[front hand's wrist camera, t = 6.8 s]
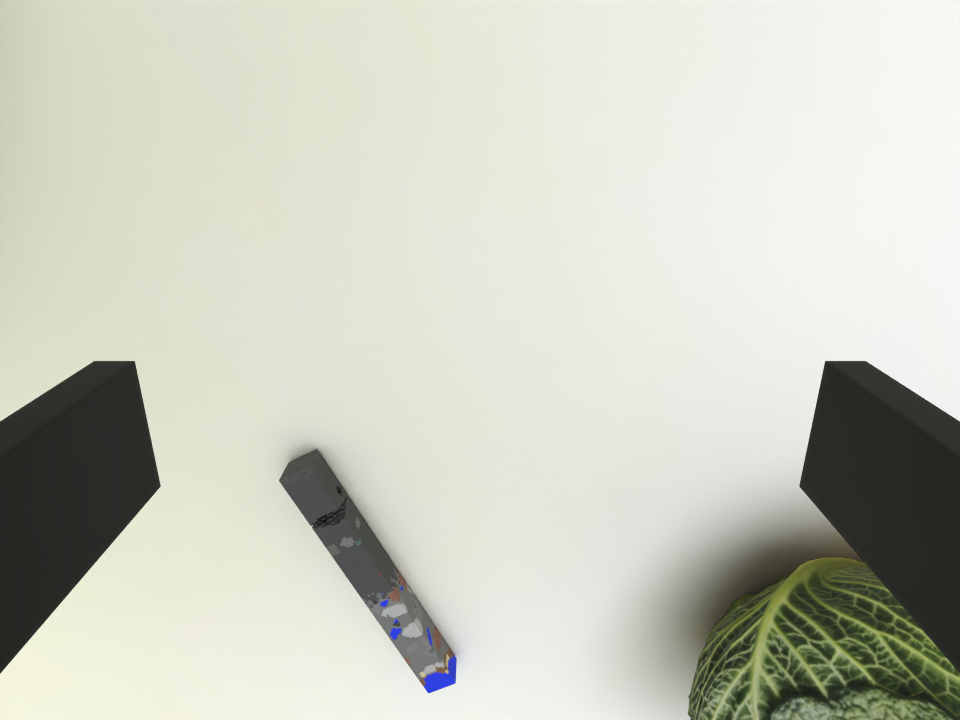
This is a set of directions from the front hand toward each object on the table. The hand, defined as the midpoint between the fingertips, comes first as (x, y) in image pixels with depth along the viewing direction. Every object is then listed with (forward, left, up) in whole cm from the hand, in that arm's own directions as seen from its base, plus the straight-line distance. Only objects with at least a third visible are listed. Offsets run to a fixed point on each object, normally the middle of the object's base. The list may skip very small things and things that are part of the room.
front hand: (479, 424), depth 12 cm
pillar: (-2, -25, -26) cm, 36 cm away
